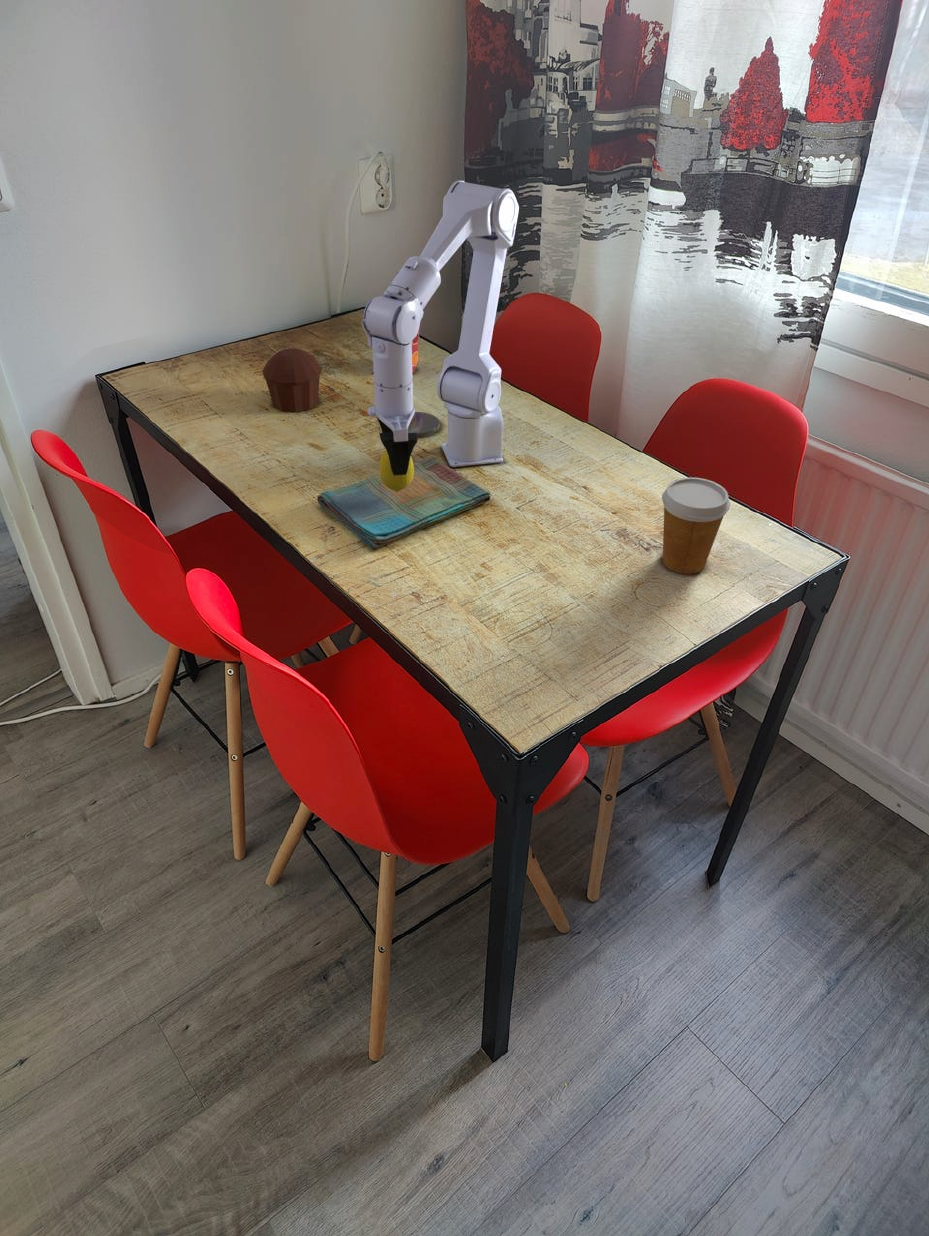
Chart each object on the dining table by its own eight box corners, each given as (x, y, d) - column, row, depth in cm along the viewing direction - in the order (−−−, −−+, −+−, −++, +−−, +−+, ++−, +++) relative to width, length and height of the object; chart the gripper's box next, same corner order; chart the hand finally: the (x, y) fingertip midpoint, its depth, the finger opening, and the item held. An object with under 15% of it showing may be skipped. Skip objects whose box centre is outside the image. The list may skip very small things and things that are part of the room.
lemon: (414, 500, 143) (413, 455, 138) (379, 500, 143) (376, 455, 138) (414, 482, 147) (413, 438, 142) (381, 482, 147) (378, 438, 142)
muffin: (314, 417, 171) (309, 367, 164) (258, 412, 172) (251, 362, 166) (331, 391, 180) (327, 342, 174) (278, 387, 181) (272, 338, 175)
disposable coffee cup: (671, 537, 140) (683, 469, 132) (727, 560, 135) (743, 490, 128) (639, 564, 134) (650, 494, 127) (696, 588, 129) (712, 517, 122)
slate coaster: (434, 413, 173) (434, 409, 172) (444, 434, 166) (444, 431, 165) (387, 417, 171) (387, 414, 171) (395, 439, 164) (395, 435, 164)
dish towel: (314, 505, 146) (313, 491, 145) (430, 462, 158) (430, 449, 156) (374, 552, 136) (373, 538, 134) (492, 503, 147) (493, 489, 146)
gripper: (361, 362, 138) (366, 442, 147) (371, 403, 127) (376, 487, 135) (406, 359, 139) (409, 439, 148) (421, 399, 128) (422, 483, 136)
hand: (396, 462), depth 142 cm, fingers open, 7 cm apart
